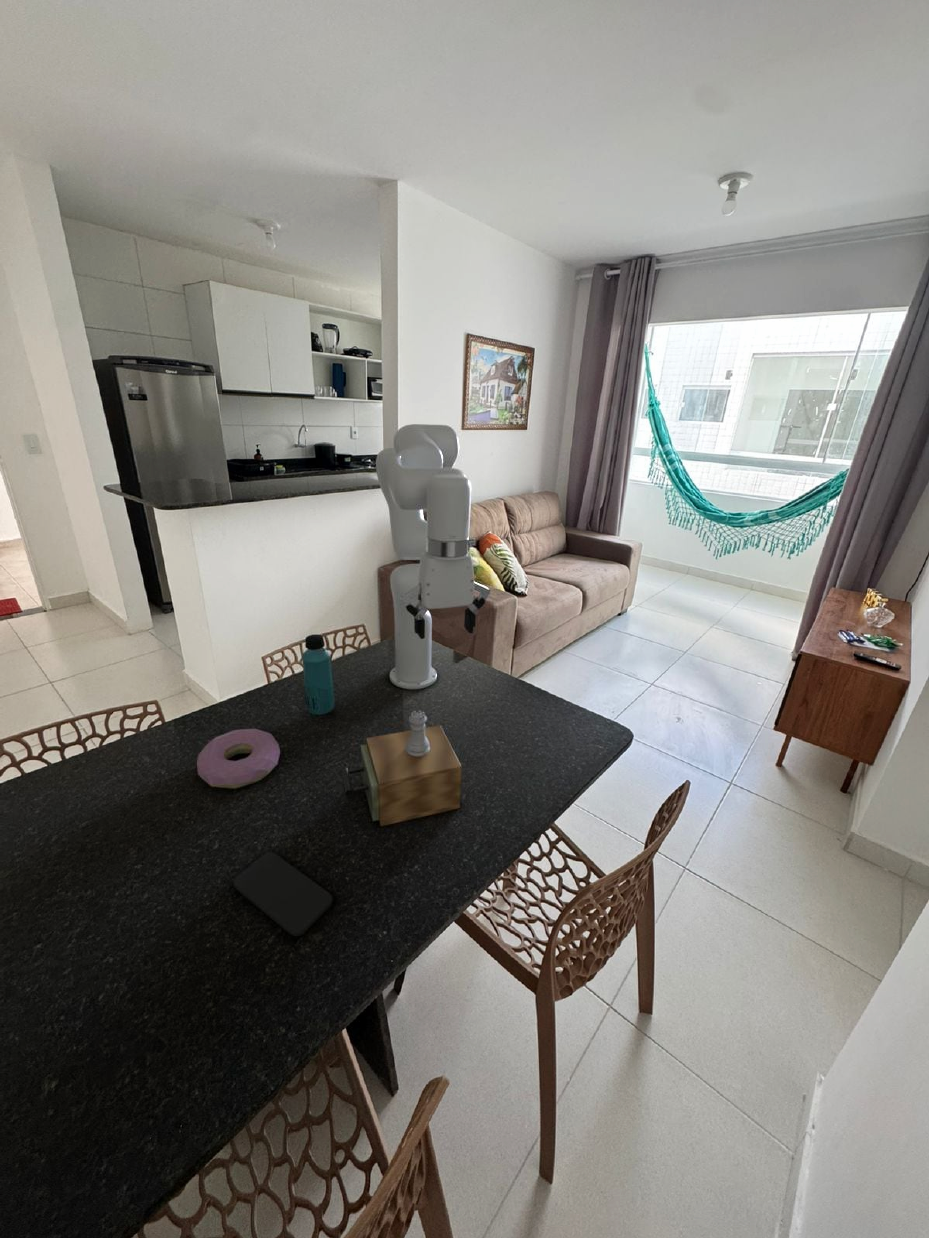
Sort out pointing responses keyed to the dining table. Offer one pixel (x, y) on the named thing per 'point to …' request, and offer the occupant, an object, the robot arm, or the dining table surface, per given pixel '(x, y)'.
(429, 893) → the dining table surface
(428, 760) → the cabinet
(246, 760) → the donut
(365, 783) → the drawer
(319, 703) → the beverage bottle
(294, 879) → the phone
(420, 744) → the rook chess piece
